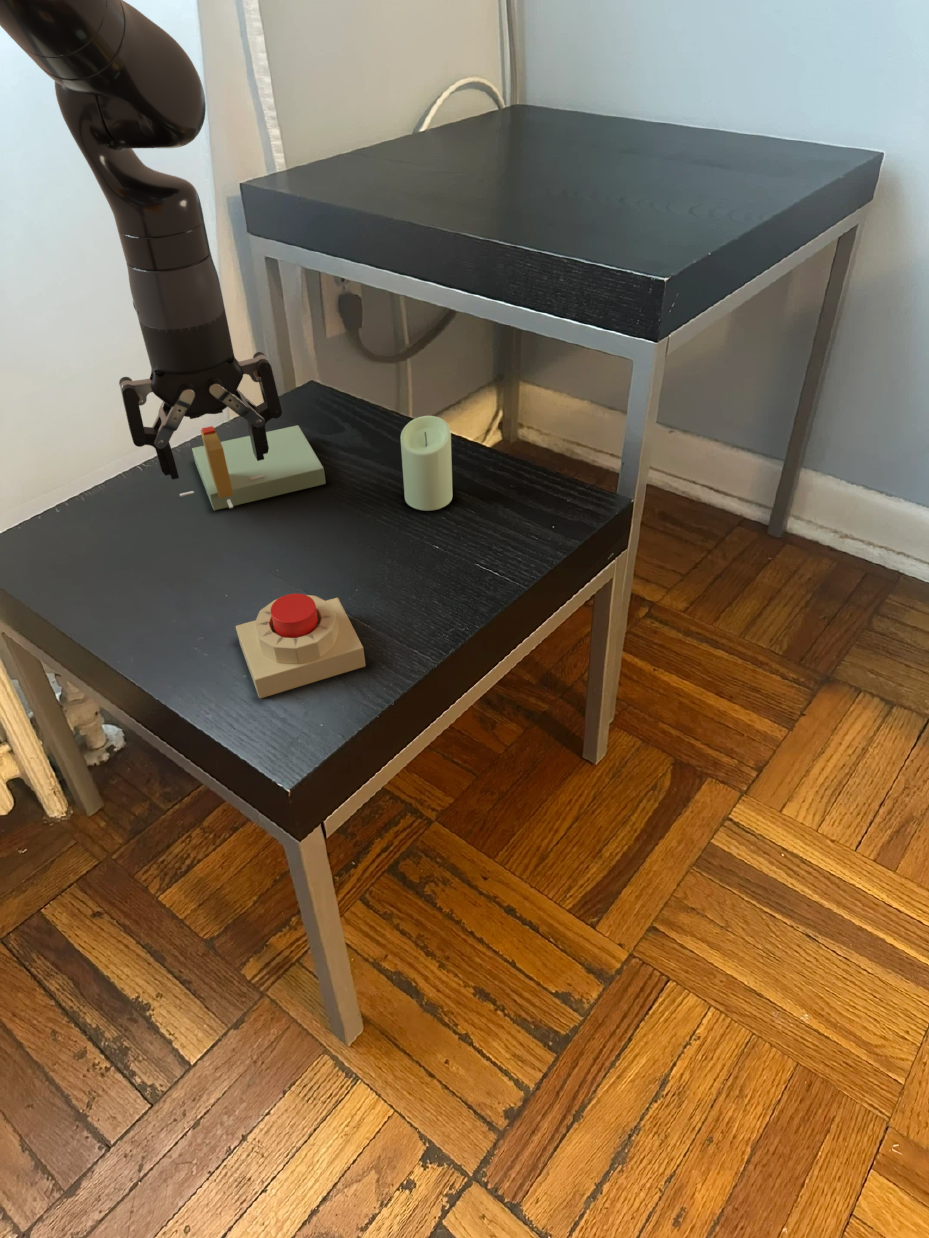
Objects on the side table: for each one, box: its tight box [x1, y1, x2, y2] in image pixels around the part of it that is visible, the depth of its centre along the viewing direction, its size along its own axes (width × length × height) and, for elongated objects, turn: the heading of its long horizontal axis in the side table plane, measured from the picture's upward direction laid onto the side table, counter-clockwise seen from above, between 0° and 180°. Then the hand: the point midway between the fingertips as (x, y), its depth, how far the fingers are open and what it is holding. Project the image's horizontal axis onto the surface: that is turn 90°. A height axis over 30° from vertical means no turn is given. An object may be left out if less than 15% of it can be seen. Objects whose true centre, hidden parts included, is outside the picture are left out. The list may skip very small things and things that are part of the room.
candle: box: [400, 415, 453, 512], centre depth 89 cm, size 5×5×8 cm
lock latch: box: [200, 425, 233, 498], centre depth 88 cm, size 4×1×6 cm, turn 23°
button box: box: [235, 594, 366, 699], centre depth 73 cm, size 9×7×4 cm
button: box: [270, 593, 318, 638], centre depth 71 cm, size 4×4×2 cm
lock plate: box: [179, 425, 327, 511], centre depth 93 cm, size 15×13×2 cm
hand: (217, 465), depth 89 cm, fingers open, 8 cm apart
